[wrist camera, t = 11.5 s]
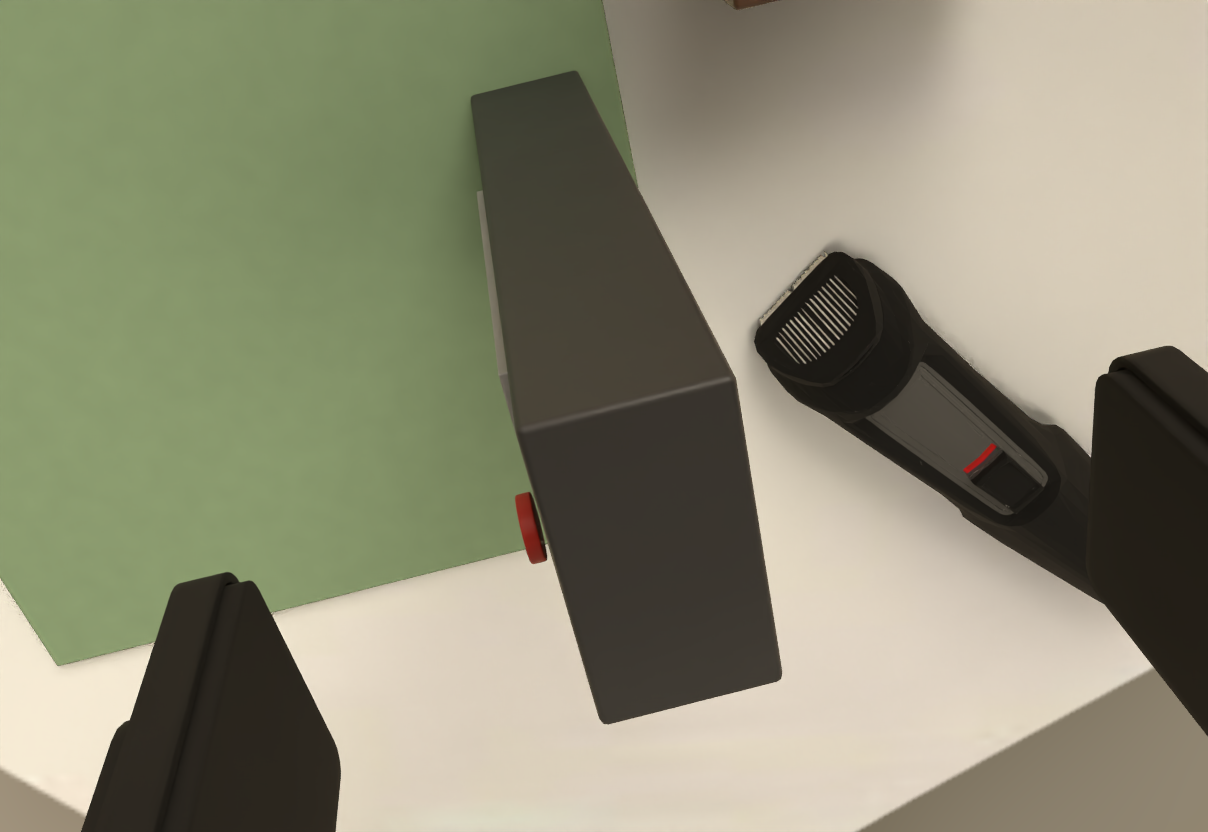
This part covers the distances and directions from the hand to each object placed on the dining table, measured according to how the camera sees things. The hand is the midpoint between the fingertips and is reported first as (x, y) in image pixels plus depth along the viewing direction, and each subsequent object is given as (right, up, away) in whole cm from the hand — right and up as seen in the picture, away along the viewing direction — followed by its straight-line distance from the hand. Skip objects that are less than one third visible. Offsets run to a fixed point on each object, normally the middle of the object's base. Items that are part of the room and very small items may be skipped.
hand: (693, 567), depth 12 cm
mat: (-9, +5, +13) cm, 17 cm away
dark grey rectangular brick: (-1, +3, +7) cm, 8 cm away
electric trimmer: (+9, +1, +18) cm, 21 cm away
